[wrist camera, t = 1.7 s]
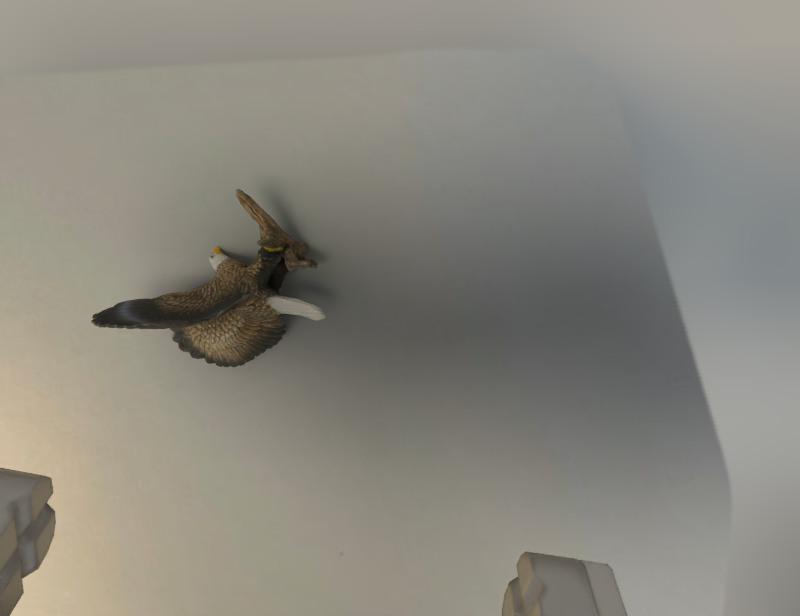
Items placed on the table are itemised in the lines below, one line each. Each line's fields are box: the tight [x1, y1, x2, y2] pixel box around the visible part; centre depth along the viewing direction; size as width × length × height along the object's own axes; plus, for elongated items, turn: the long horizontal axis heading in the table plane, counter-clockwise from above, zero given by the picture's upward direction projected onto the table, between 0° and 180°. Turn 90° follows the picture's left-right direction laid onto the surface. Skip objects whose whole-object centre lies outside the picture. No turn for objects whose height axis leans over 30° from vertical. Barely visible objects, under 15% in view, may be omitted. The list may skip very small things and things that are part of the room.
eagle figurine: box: [91, 189, 326, 367], centre depth 30 cm, size 8×7×9 cm
